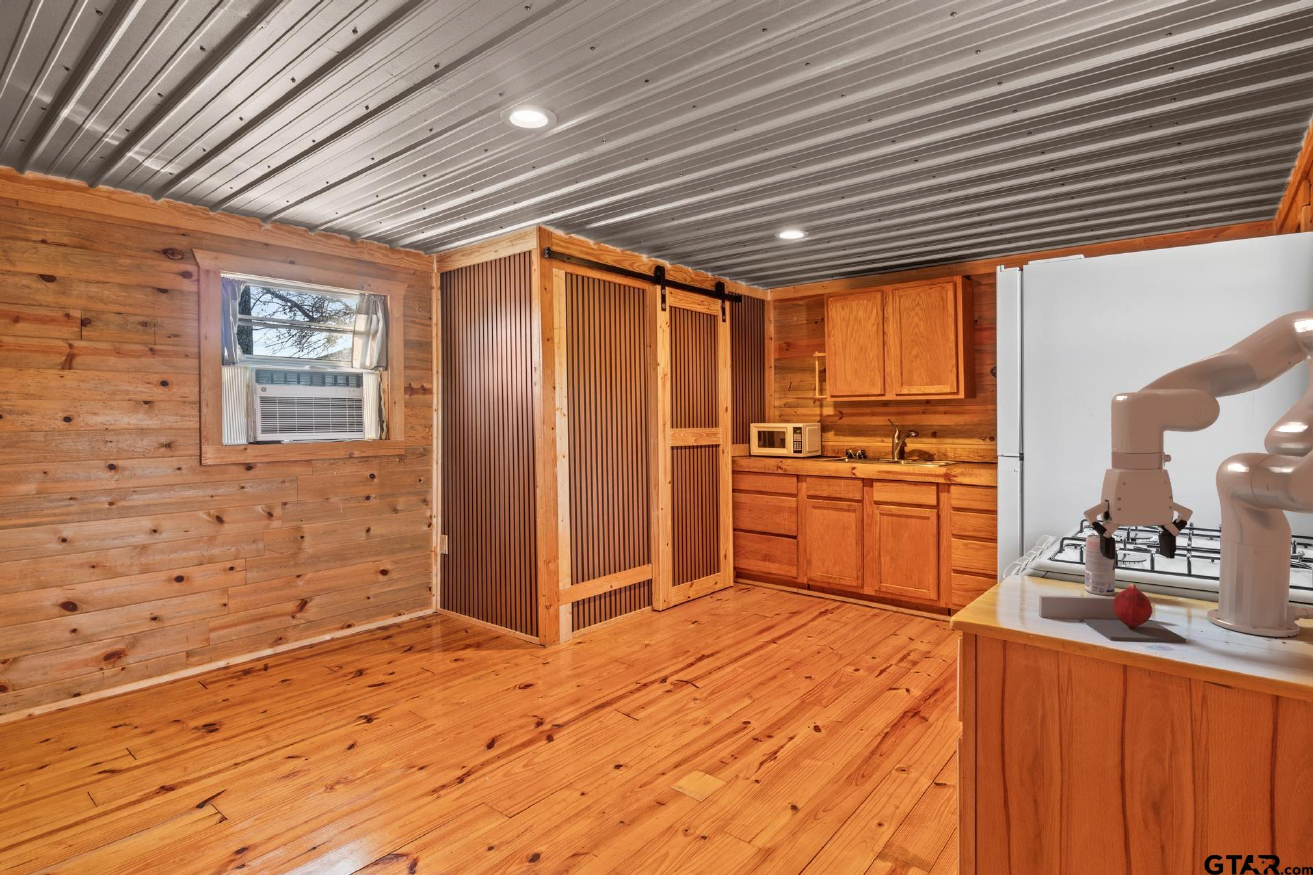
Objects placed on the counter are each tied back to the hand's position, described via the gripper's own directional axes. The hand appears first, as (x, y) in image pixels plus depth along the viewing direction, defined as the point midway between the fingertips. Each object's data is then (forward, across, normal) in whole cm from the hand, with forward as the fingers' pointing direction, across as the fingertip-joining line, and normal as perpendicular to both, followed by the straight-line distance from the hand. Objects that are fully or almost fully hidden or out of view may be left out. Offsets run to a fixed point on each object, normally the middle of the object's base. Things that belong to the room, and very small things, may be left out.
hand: (1137, 557), depth 119 cm
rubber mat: (+13, +1, 0) cm, 13 cm away
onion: (+13, +1, 0) cm, 13 cm away
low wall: (+13, +4, -7) cm, 15 cm away
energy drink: (+14, -6, -25) cm, 29 cm away
